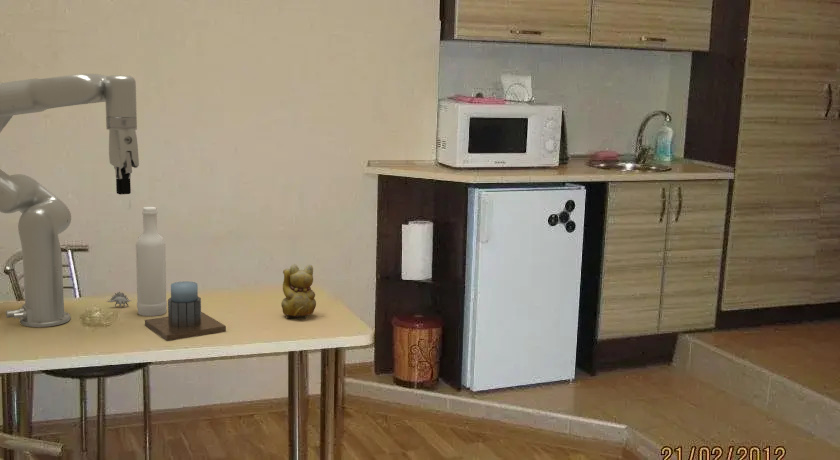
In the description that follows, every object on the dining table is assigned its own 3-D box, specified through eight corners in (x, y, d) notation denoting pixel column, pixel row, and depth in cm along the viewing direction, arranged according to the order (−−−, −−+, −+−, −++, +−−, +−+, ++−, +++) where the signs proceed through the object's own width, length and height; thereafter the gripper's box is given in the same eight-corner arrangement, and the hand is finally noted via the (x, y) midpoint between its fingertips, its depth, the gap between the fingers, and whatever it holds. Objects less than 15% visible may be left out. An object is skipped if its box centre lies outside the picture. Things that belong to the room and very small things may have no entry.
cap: (177, 318, 226) (176, 288, 225) (167, 312, 231) (166, 283, 230) (202, 315, 230) (201, 285, 229) (191, 309, 235) (191, 280, 234)
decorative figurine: (314, 312, 250) (314, 261, 247) (317, 320, 242) (318, 268, 240) (280, 314, 248) (280, 262, 245) (283, 322, 240) (283, 269, 237)
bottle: (158, 317, 240) (155, 210, 235) (132, 315, 242) (129, 208, 237) (171, 310, 248) (169, 206, 243) (146, 307, 250) (143, 204, 244)
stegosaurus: (105, 307, 249) (105, 291, 248) (131, 305, 252) (130, 289, 251) (106, 309, 247) (106, 293, 246) (132, 307, 250) (132, 291, 249)
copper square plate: (166, 340, 220) (166, 310, 219) (144, 325, 233) (144, 296, 231) (225, 331, 230) (225, 302, 228) (201, 316, 242) (201, 289, 241)
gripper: (146, 125, 222) (147, 196, 225) (126, 121, 234) (128, 189, 237) (116, 125, 217) (118, 198, 221) (98, 122, 229) (100, 191, 232)
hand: (123, 193), depth 229 cm, fingers closed
